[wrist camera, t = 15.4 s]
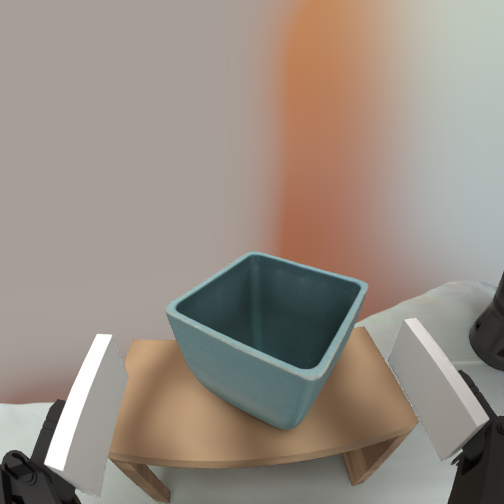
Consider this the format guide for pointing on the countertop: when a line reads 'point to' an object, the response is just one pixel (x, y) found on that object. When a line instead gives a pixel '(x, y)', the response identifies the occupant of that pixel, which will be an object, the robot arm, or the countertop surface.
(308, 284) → the flower pot
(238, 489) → the countertop surface
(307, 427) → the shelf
